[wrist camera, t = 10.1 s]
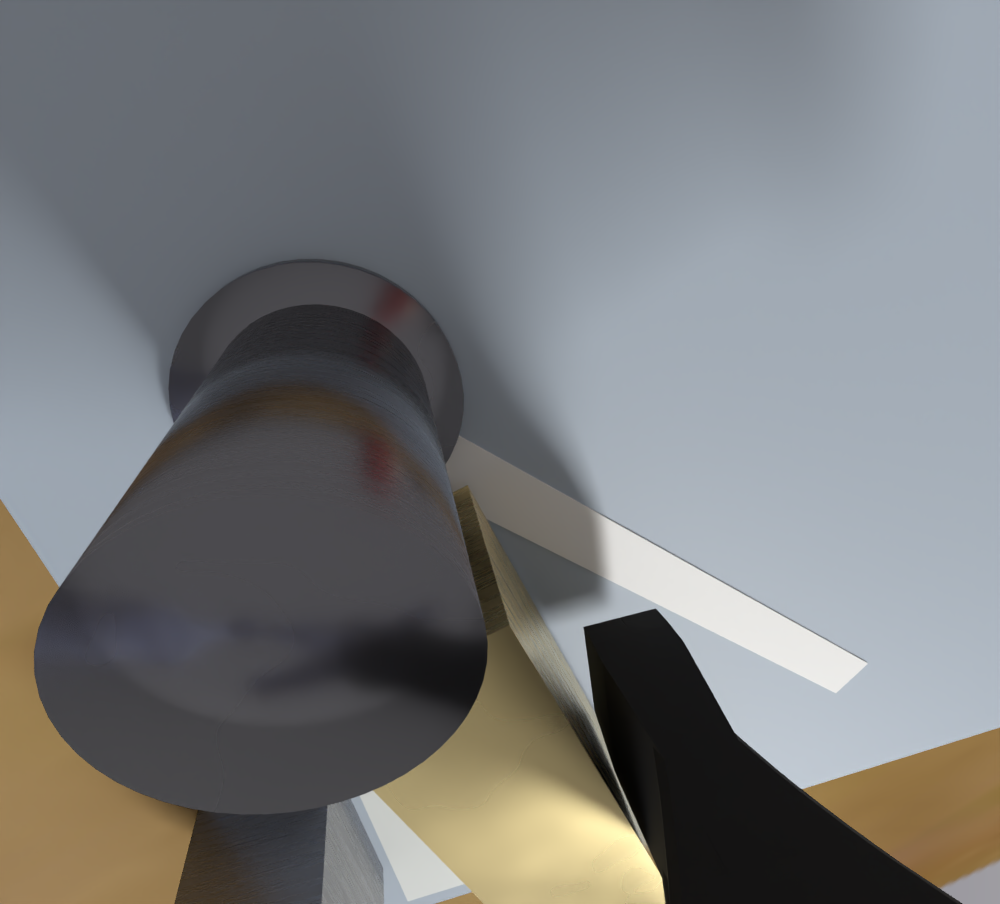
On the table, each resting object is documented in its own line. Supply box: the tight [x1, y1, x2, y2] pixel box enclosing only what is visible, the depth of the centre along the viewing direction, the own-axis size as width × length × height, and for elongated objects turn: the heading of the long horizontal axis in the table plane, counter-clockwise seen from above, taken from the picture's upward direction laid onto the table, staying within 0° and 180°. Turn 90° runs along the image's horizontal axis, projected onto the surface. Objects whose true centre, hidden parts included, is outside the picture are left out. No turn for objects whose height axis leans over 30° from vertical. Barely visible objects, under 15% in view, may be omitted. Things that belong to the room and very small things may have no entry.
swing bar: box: [373, 485, 665, 904], centre depth 10 cm, size 10×2×4 cm, turn 24°
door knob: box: [34, 259, 488, 814], centre depth 6 cm, size 4×4×5 cm
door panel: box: [0, 0, 1000, 904], centre depth 11 cm, size 19×18×1 cm
